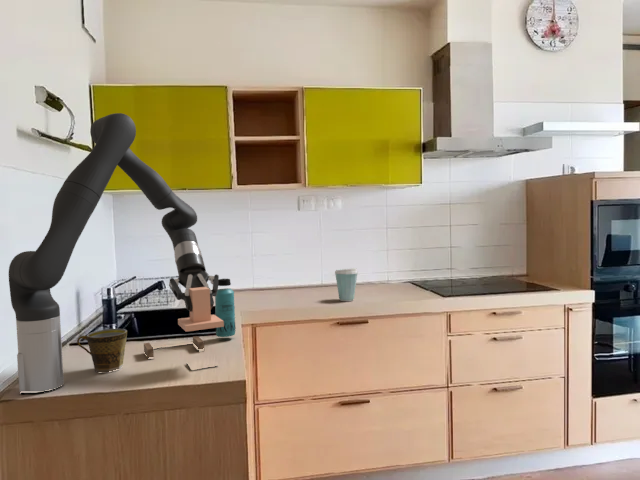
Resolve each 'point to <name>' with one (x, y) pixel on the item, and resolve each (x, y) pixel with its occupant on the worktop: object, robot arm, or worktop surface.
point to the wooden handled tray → (149, 352)
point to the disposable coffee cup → (346, 283)
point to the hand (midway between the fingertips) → (201, 308)
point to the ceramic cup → (106, 348)
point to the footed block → (200, 312)
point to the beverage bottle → (225, 309)
